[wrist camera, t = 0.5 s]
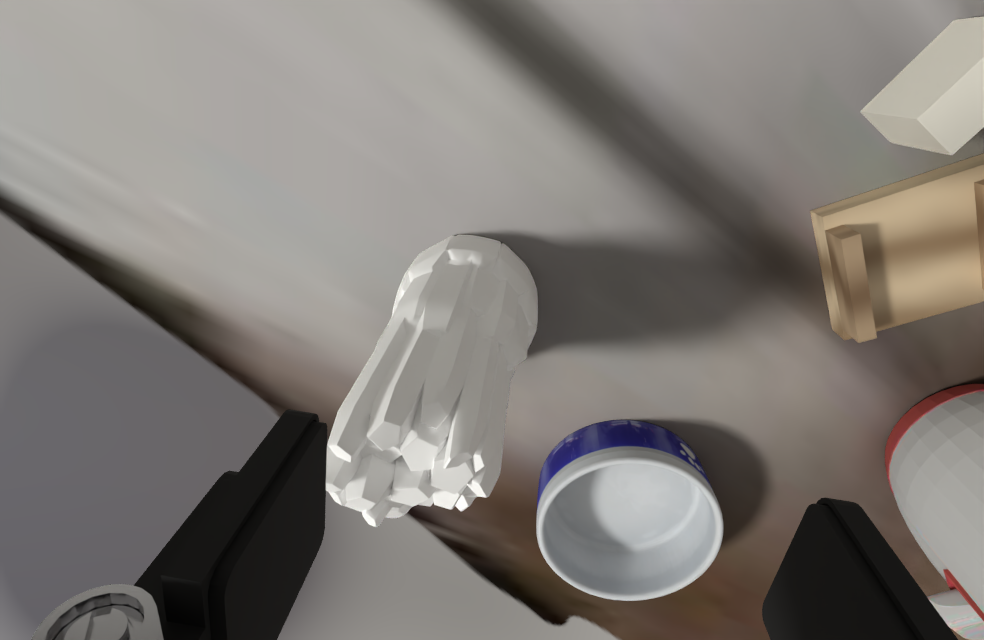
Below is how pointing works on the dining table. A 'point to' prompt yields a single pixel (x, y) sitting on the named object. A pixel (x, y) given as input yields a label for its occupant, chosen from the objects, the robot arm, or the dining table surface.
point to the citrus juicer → (945, 496)
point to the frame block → (936, 93)
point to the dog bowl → (627, 511)
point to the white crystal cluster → (436, 384)
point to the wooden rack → (903, 250)
